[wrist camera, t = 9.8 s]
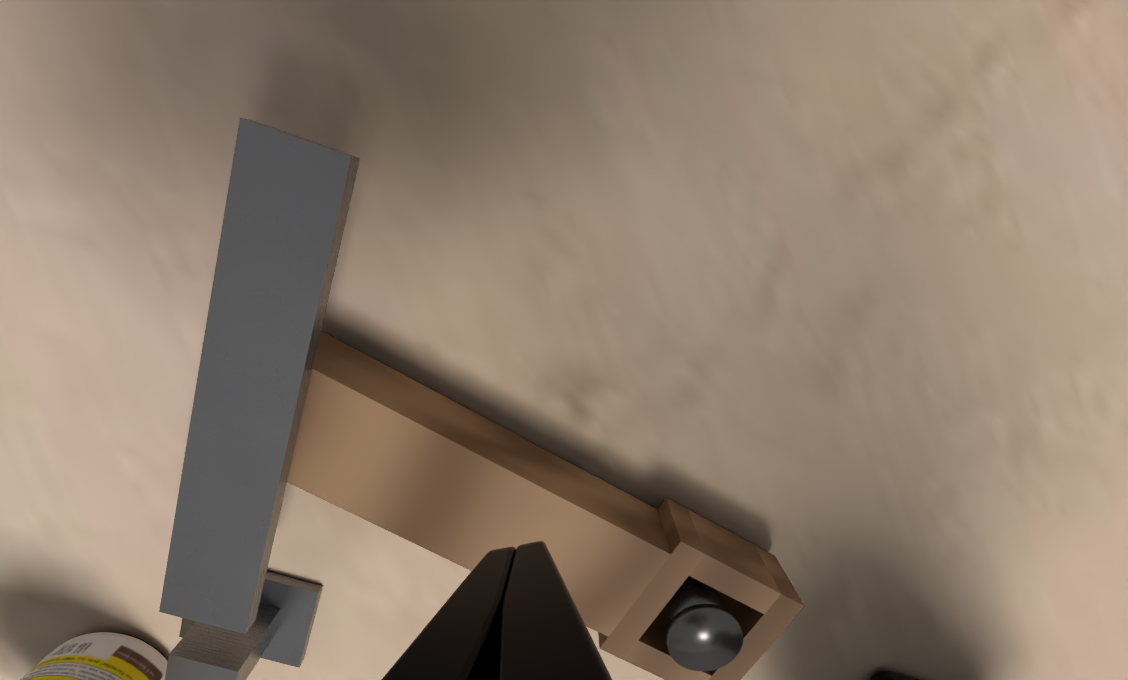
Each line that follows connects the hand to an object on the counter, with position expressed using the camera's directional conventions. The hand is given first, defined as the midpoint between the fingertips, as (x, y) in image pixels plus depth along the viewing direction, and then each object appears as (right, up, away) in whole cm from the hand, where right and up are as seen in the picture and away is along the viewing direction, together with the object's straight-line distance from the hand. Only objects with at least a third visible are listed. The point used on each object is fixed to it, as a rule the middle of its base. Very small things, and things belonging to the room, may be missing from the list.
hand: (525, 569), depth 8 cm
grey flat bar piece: (-10, 0, +12) cm, 15 cm away
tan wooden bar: (-1, -3, +12) cm, 12 cm away
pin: (+5, -6, +13) cm, 16 cm away
